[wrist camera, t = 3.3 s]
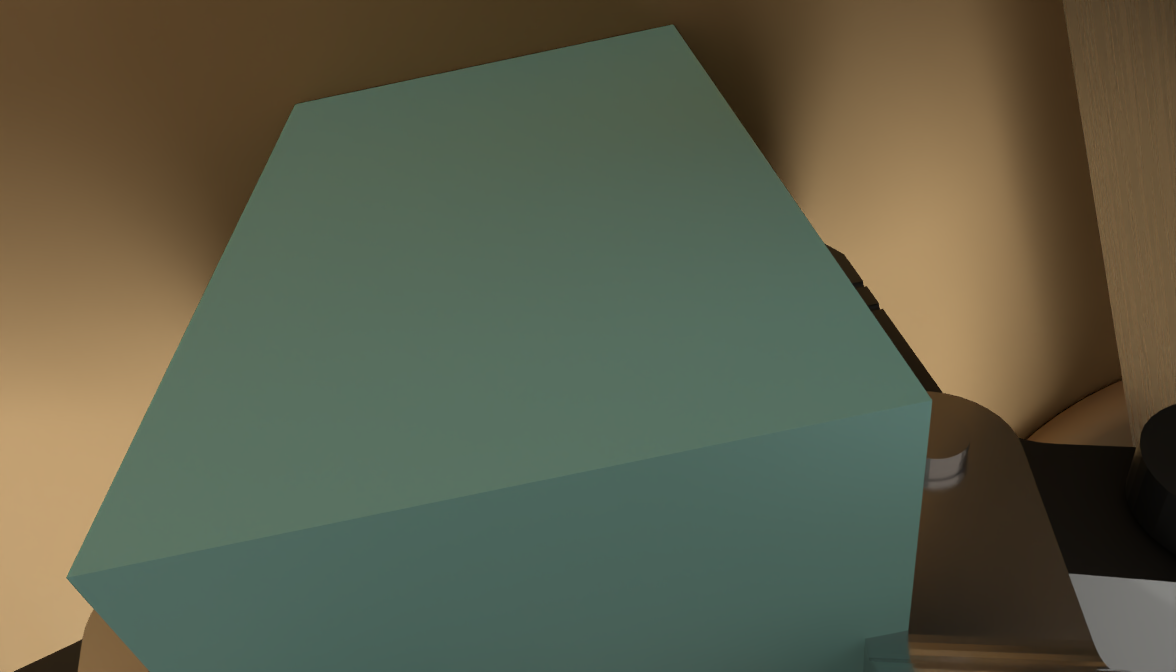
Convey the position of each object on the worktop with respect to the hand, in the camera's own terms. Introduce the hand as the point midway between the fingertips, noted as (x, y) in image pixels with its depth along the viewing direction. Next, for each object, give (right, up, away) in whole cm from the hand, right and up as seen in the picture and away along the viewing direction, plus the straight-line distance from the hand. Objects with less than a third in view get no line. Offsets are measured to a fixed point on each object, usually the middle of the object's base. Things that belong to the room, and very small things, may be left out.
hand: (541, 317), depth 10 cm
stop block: (0, 0, 0) cm, 0 cm away
